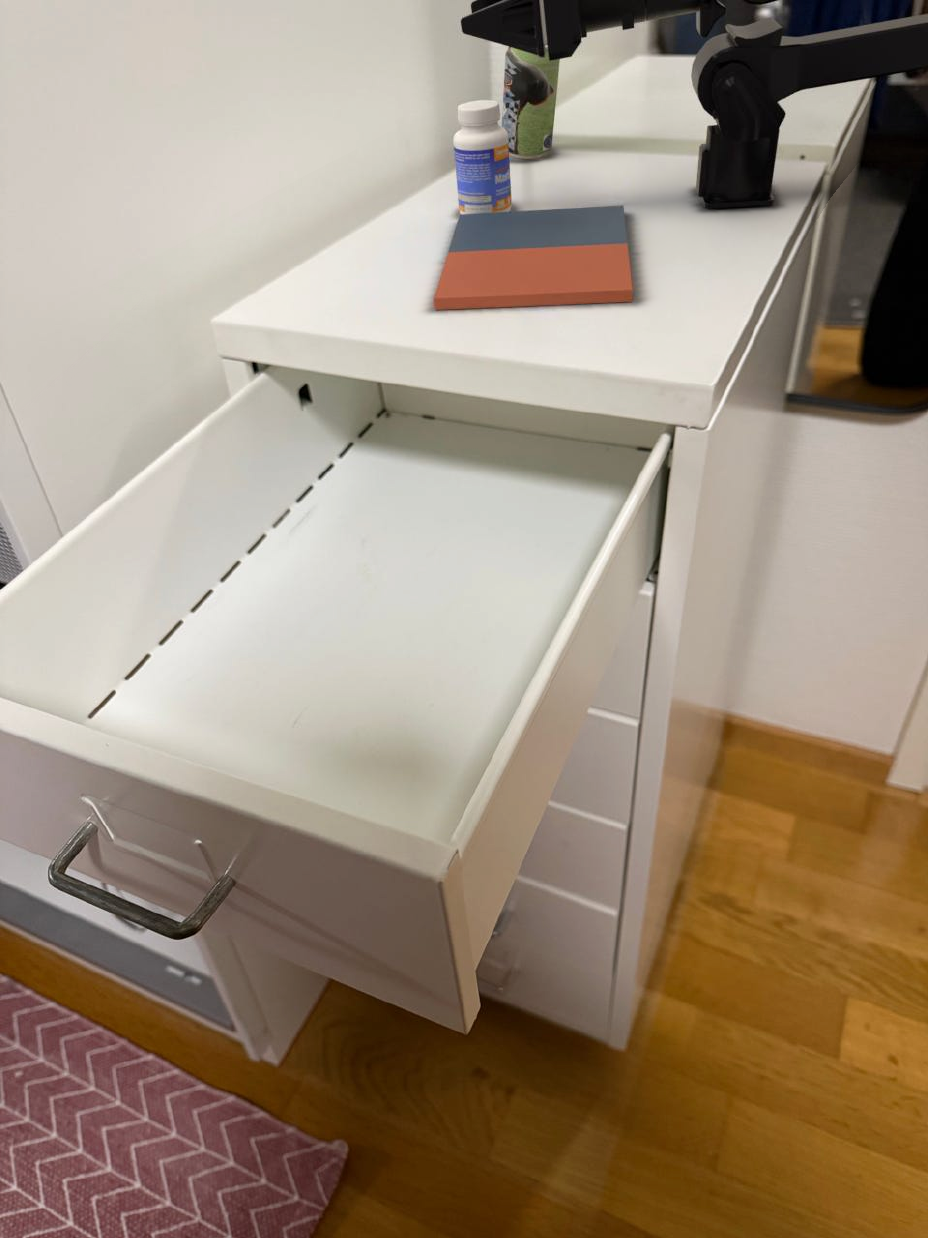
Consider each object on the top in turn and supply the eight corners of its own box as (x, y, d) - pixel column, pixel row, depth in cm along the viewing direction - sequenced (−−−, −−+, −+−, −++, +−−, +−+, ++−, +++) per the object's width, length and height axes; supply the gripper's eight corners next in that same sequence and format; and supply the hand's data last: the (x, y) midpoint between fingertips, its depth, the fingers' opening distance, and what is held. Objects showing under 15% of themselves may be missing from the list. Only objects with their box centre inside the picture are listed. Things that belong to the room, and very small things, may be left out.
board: (623, 215, 85) (623, 204, 85) (632, 301, 70) (633, 289, 69) (460, 224, 88) (459, 214, 87) (434, 310, 72) (433, 298, 71)
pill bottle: (507, 220, 87) (502, 110, 81) (454, 221, 88) (445, 112, 82) (515, 202, 91) (511, 96, 85) (465, 204, 92) (457, 98, 86)
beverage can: (518, 146, 108) (514, 29, 100) (571, 150, 104) (571, 30, 96) (490, 160, 104) (483, 40, 96) (543, 165, 101) (541, 42, 93)
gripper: (633, -143, 78) (461, -104, 81) (645, -136, 64) (436, -89, 67) (639, 8, 85) (480, 38, 88) (650, 43, 71) (462, 78, 74)
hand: (466, 17), depth 79 cm, fingers open, 9 cm apart
